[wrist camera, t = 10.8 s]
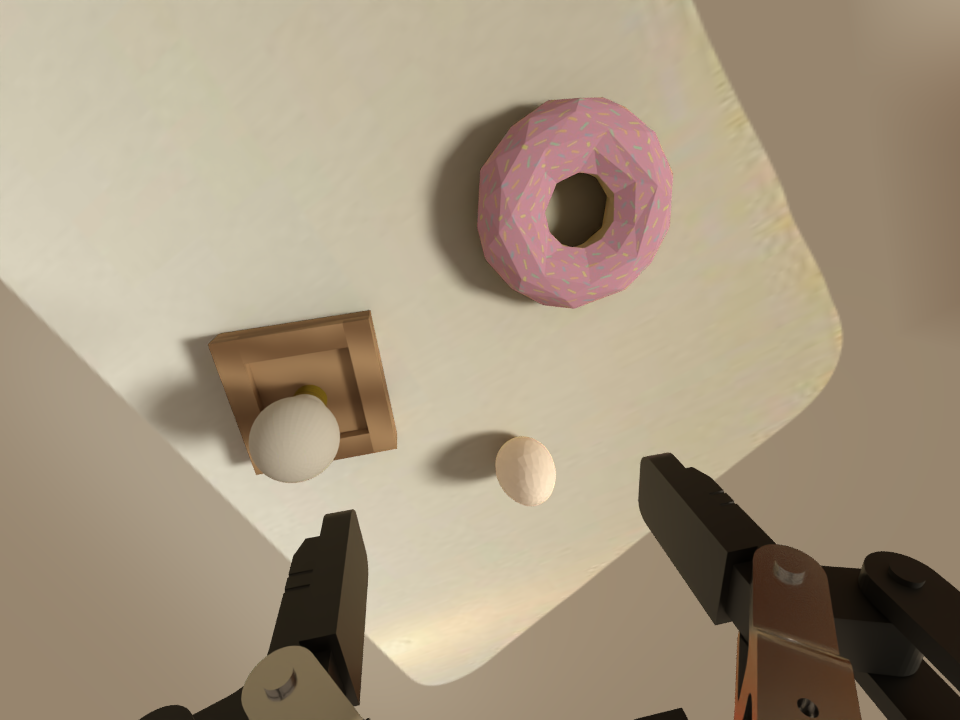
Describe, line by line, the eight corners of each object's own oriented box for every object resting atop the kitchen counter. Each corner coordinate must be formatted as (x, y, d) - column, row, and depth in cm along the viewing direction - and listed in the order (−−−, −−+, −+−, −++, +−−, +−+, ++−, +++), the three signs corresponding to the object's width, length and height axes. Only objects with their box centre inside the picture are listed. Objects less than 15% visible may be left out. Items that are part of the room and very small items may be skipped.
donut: (661, 268, 42) (694, 281, 37) (499, 321, 41) (512, 340, 37) (638, 73, 35) (674, 59, 31) (446, 132, 35) (454, 127, 30)
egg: (553, 442, 47) (580, 491, 40) (516, 479, 48) (536, 532, 41) (515, 413, 45) (537, 459, 38) (478, 452, 46) (492, 503, 39)
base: (219, 333, 37) (207, 344, 35) (370, 310, 39) (368, 319, 36) (264, 458, 42) (256, 474, 40) (397, 433, 43) (397, 448, 41)
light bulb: (295, 435, 40) (265, 513, 31) (261, 376, 38) (217, 443, 29) (360, 411, 40) (349, 482, 31) (330, 351, 38) (309, 409, 29)
